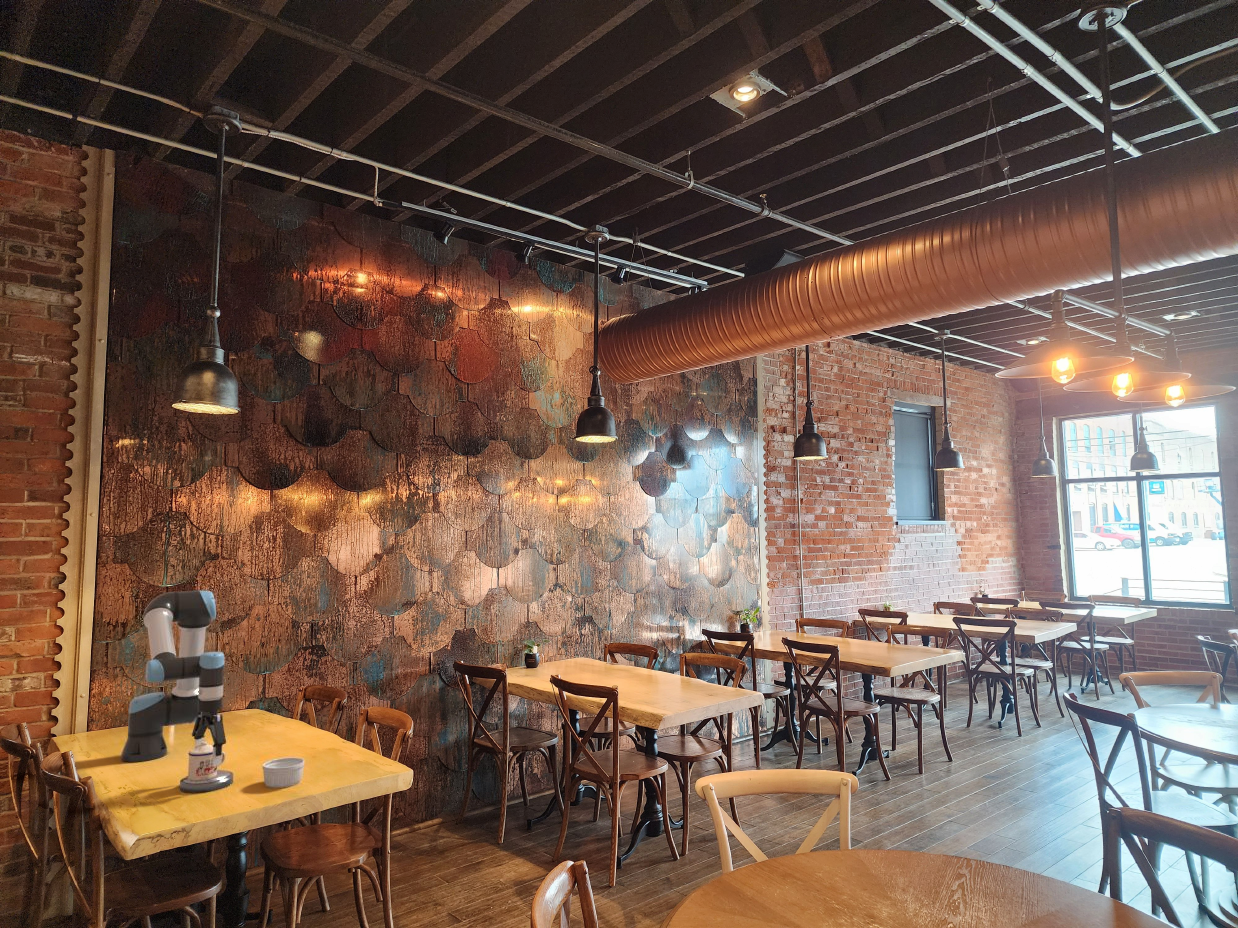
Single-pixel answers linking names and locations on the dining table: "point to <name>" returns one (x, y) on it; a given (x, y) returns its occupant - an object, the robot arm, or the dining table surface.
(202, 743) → the teacup with lid
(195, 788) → the dark gray round plate
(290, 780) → the ramekin
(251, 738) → the dining table surface
